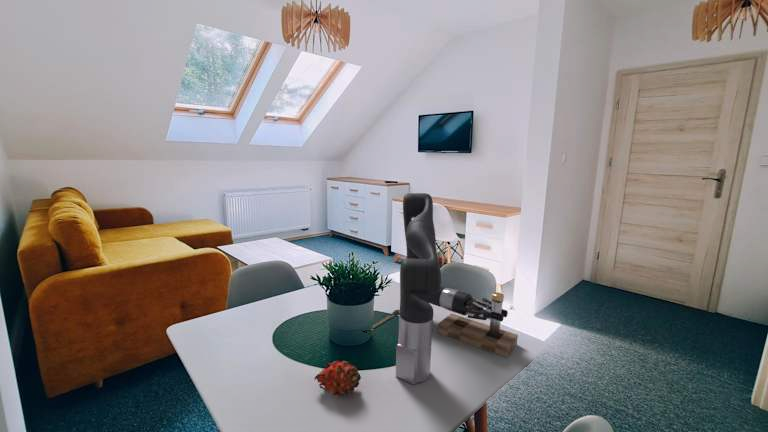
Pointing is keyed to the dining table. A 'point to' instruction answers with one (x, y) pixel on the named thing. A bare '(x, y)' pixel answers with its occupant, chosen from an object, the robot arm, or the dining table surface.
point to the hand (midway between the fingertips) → (504, 316)
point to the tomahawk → (384, 320)
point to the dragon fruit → (339, 377)
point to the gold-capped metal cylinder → (497, 307)
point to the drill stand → (477, 334)
